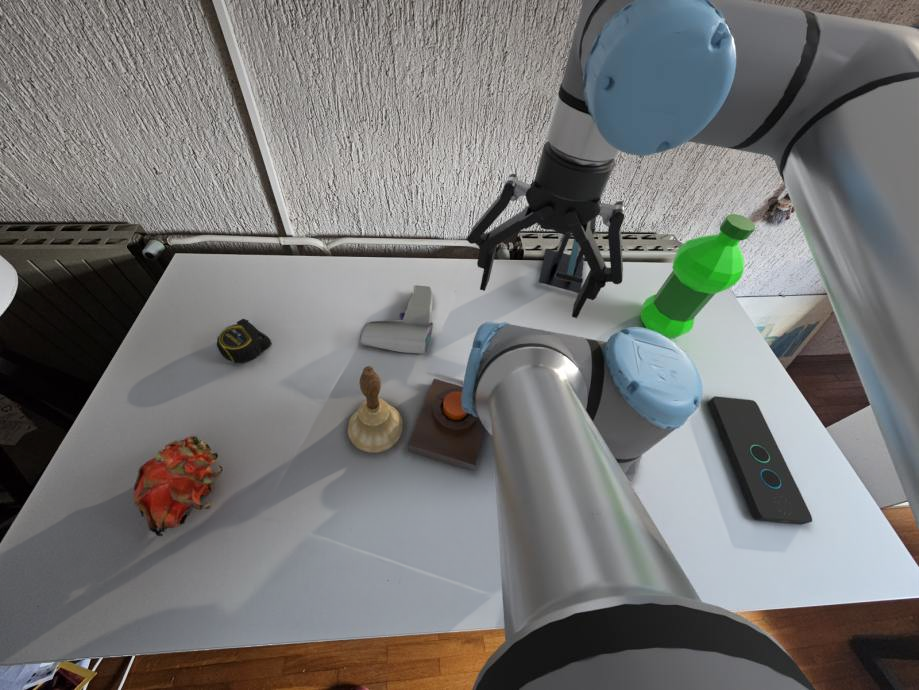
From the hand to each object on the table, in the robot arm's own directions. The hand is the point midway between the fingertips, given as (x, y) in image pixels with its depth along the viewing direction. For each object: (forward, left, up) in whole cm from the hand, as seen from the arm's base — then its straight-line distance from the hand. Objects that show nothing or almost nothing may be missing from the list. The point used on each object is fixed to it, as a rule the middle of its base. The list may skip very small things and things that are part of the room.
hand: (529, 297), depth 55 cm
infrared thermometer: (+2, +21, -17) cm, 27 cm away
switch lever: (+23, -7, -7) cm, 25 cm away
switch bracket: (+28, -7, -17) cm, 33 cm away
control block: (-15, +6, -17) cm, 23 cm away
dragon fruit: (-35, +36, -17) cm, 53 cm away
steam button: (-14, +6, -13) cm, 20 cm away
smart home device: (-5, -42, -17) cm, 45 cm away
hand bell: (-19, +17, -17) cm, 30 cm away
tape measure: (-12, +43, -17) cm, 48 cm away
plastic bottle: (+19, -28, -17) cm, 38 cm away
